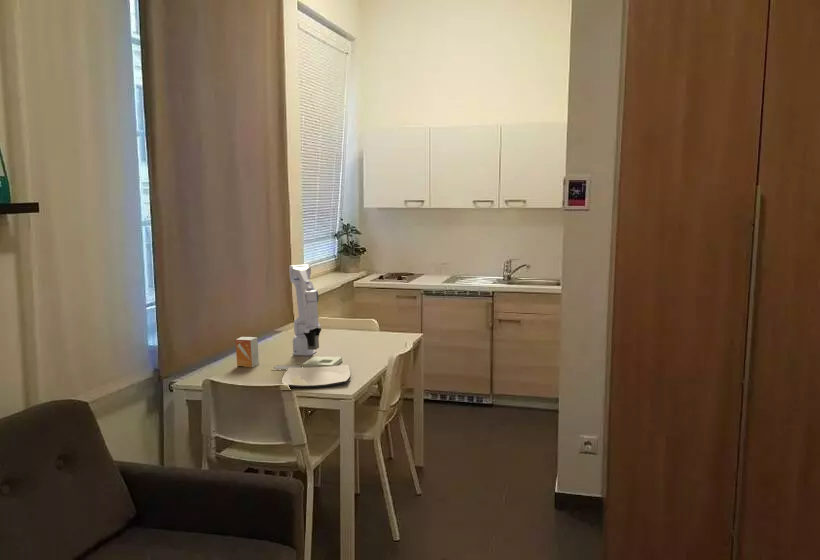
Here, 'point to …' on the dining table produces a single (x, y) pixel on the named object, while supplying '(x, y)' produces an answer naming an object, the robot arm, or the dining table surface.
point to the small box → (247, 351)
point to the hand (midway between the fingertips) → (313, 345)
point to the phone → (286, 367)
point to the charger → (316, 344)
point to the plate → (318, 376)
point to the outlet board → (322, 362)
